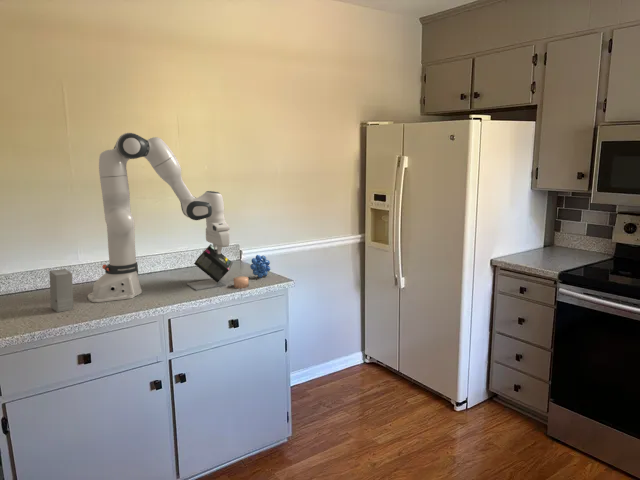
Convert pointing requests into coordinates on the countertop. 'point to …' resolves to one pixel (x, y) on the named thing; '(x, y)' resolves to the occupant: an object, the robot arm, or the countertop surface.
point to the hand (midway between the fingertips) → (218, 253)
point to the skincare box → (61, 290)
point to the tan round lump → (241, 282)
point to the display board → (205, 284)
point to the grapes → (260, 266)
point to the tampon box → (213, 263)
